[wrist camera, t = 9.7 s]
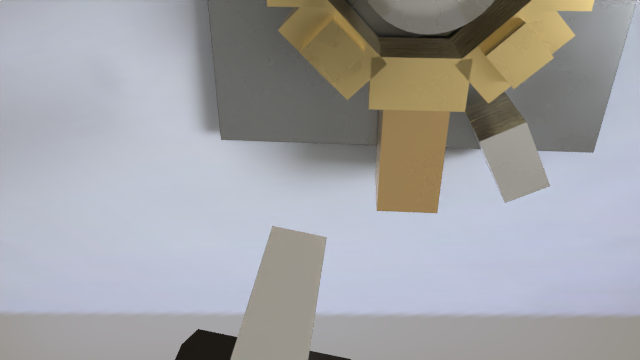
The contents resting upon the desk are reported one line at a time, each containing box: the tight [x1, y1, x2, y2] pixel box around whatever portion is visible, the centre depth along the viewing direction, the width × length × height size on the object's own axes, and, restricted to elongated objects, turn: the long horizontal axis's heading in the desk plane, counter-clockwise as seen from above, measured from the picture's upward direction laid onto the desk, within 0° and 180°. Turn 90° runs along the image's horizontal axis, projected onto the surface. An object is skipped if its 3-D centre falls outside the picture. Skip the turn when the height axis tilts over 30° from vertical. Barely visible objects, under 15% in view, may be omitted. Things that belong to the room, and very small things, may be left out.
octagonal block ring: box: [267, 0, 594, 213], centre depth 19 cm, size 16×11×4 cm
